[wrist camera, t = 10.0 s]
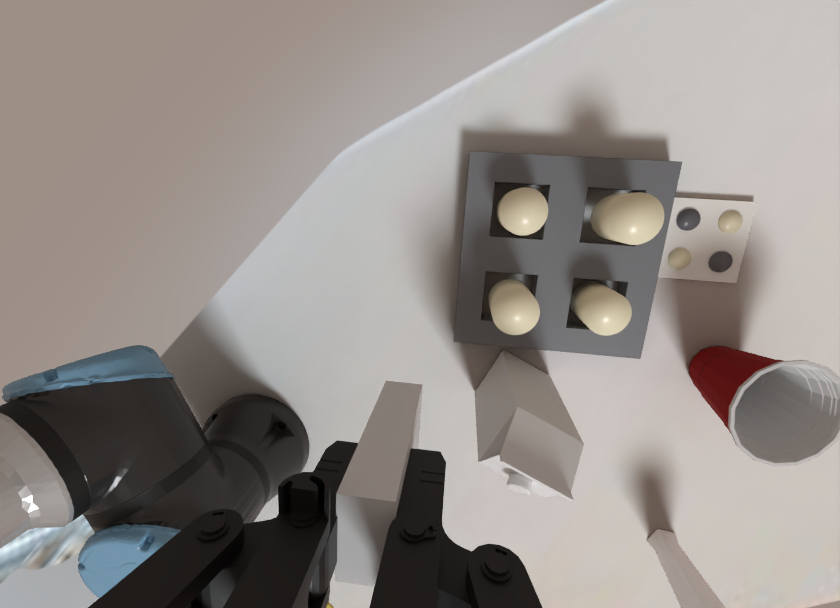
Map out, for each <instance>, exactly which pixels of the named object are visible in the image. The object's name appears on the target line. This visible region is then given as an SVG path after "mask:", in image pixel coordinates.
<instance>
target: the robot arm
mask: <svg viewBox="0 0 840 608" xmlns="http://www.w3.org/2000/svg"><path fill="white" fill-rule="evenodd" d="M174 378H175V377H174V375H173V374H172V373H169V372H168V370H167V368H166V367H165V365H164V364H163V362H162V361H161V359H160V358H159V356H158V354H157V353H156V352H155V351H154V350H153V349H151V348H149V347H146V346H141V345H137V346H130V347H126V348H121V349H117V350H113V351H110V352H106V353H103V354H99V355H95V356H92V357H89V358H85V359H82V360H78V361H75V362H72V363H69V364H66V365H62V366H59V367H57V368H55V369H50V370H47V371H45V372H42V373H39V374H34V375H31V376H28V377H25V378H22V379H20V380H17V381H15V382H12V383H10V384H8V385H6V386H5V387H4V388H3V396H2V398H3V399H4V401H5V402H8V403H6V404H3V405H1V406H0V548H1V547H3V546H4V545H6V544H7V543H9V542H10V541H12V540H13V539H15V538H16V537H18V536H19V535H21V534H22V533H24V532H25V531H27V530H29V529H33V528H44V527H64V526H66V525H67V524H69V523H71V522H72V521H73V520H75V519H76V518H78V517H79V516H80V515H82V514H83V515H84V516H85V518H86V519H87V521H88V522H89V524H90V526H91V527H92V529H93V530H94V532H95V534H94V535H92V536H91V537H89V538H88V540H87V541H86V543H85V545H84V547H83V548H82V549H81V551H80V554H79V558H78V561H79V562H80V563H79V565H78V569H79V573H80V576H81V578H82V580H83V581H84V583H85V585H86V586H87V587H88V588H89V589H90V590H91V591H92V592H93V593H94V594H95V595H96V596H97V597H98V598H99V599H98V600H97V601H96V602H94V603H93V604H92V605H91V606H90V607H88V608H326V607H327V604H328V601H329V594H330V580H331V577H332V575H333V572H334V569H335V581H340V582H346V583H353V584H360V585H366V586H373V587H374V592H373V596H372V600H371V604H370V608H542V606H541V603H540V601H539V599H538V596H537V594H536V592H535V589H534V587H533V585H532V582H531V580H530V578H529V575H528V573H527V571H526V568H525V566H524V565H523V563H522V562H521V560H520V559H519V557H518V556H517V555H516V554H514V553H513V552H512V551H511V550H509V549H507V548H505V547H502V546H500V545H494V544H486V545H482V546H478V547H477V548H476V549H475V550H473V551H472V552H471V551H469V550H467V549H464V548H462V547H460V546H459V545H457V544H455V543H454V542H453V541H452V540H451V539H449V537H448V536H447V535H446V533H445V532H444V529H443V527H442V510H443V496H444V482H445V467H446V462H445V460H444V458H443V456H442V454H441V452H438V451H429V450H421V449H418V443H419V428H420V414H421V399H422V385H421V384H411V383H402V382H392V381H386V382H385V384H384V387H383V389H382V391H381V394H380V396H379V398H378V400H377V403H376V405H375V407H374V409H373V412H372V414H371V416H370V418H369V421H368V423H367V425H366V427H365V430H364V432H363V434H362V437H361V439H360V441H359V443H353V442H345V441H336V442H335V443H333V444H332V445H331V446H329V447H328V448H327V449H326V450H325V452H324V454H323V455H322V457H321V459H320V461H319V462H318V464H317V466H316V468H315V470H314V471H313V472H302V473H301V471H302V470H303V468H304V467H305V465H306V462H307V459H308V455H309V440H308V436H307V433H306V430H305V428H304V426H303V424H302V423H301V421H300V420H299V418H298V417H297V416H296V415H295V414H294V413H293V412H292V411H291V410H290V409H289V408H288V407H287V406H285V405H284V404H282V403H280V402H279V401H277V400H275V399H272V398H270V397H266V396H262V395H255V394H248V395H241V396H237V397H234V398H232V399H230V400H228V401H227V402H225V403H224V404H223V405H221V406H220V407H219V408H218V409H217V410H216V411H214V412H213V413H212V415H211V416H210V417H209V418H208V420H207V421H206V423H205V425H204V427H203V429H201V427H200V426H199V424H198V422H197V420H196V418H195V417H194V415H193V413H192V411H191V409H190V408H189V406H188V404H187V402H186V400H185V399H184V397H183V395H182V393H181V392H180V390H179V388H178V386H177V384H176V383H175V381H174ZM277 494H278V501H279V514H278V516H277V517H276V518H274V519H271V520H266V521H261V522H254V521H255V519H256V518H257V516H258V515H259V513H260V511H261V510H262V508H263V507H264V505H265V504H266V503H267V502H268V501H270V500H271V499H272V498H273V497H275V496H276V495H277Z"/></svg>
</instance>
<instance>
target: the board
mask: <svg viewBox="0 0 840 608" xmlns="http://www.w3.org/2000/svg"><path fill="white" fill-rule="evenodd" d="M681 165H682V162H676V161H656V160H636V159H616V158H596V157H575V156H555V155H535V154H515V153H495V152H475V151H470V157H469V169H468V180H467V192H466V204H465V215H464V227H463V239H462V251H461V262H460V274H459V286H458V297H457V309H456V321H455V332H454V342H464V343H475V344H486V345H497V346H507V347H518V348H529V349H540V350H551V351H561V352H572V353H583V354H594V355H605V356H615V357H626V358H637V359H640V358H641V354H642V349H643V344H644V339H645V335H646V330H647V325H648V321H649V316H650V311H651V306H652V302H653V297H654V292H655V288H656V283H657V278H658V273H659V269H660V264H661V259H662V255H663V250H664V245H665V240H666V236H667V231H668V226H669V222H670V217H671V212H672V207H673V203H674V198H675V193H676V189H677V184H678V179H679V174H680V170H681ZM495 183H507V184H525V185H543V186H546V189H545V199H546V201H547V204H548V216H547V219H546V221H545V223H544V225H543V226H542V227H541V228H540V234H539V238H528V237H513V236H498V235H489V234H490V225H491V215H492V205H493V195H494V185H495ZM588 188H596V189H614V190H632V191H636V193H639V192H642V193H648V194H651V195H653V196H654V197H656V198H657V199H658V200H659V201H660V203H661V204H662V206H663V209H664V222H663V225H662V228H661V229H660V231H659V232H658V234H657V235H656V236H655V237H654V238H652V239H651V240H649V241H648V242H646V243H643V244H639V245H629V244H616V243H601V242H586V241H580V236H581V230H582V224H583V217H584V211H585V205H586V198H587V192H588ZM486 271H491V272H504V273H518V274H531V275H534V279H533V287H532V295H533V296H534V297H535V299H536V300H537V302H538V304H539V308H540V316H539V319H538V322H537V324H536V325H535V326H534V327H533V328H532V329H531V330H530V331H528V332H526V333H524V334H521V335H510V334H506V333H504V332H502V331H501V330H500V329H499V328H498V327H497V326H496V325H495V323H494V321H493V318H492V316H489V315H481V313H482V303H483V293H484V283H485V274H486ZM574 278H583V279H596V280H609V281H619V287H618V292H617V293H619V294H621V295H622V296H624V297H625V298H626V299H627V300H628V301H629V303H630V305H631V309H632V316H631V319H630V322H629V323H628V325H627V326H626V327H625V328H624V329H623V330H622V331H620V332H619V333H616V334H614V335H608V336H604V335H599V334H596V333H594V332H593V331H592V330H590V329H589V328H588V327H587V326H586V325H585V324H582V323H570V322H567V318H568V312H569V305H570V299H571V293H572V287H573V280H574Z"/></svg>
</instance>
